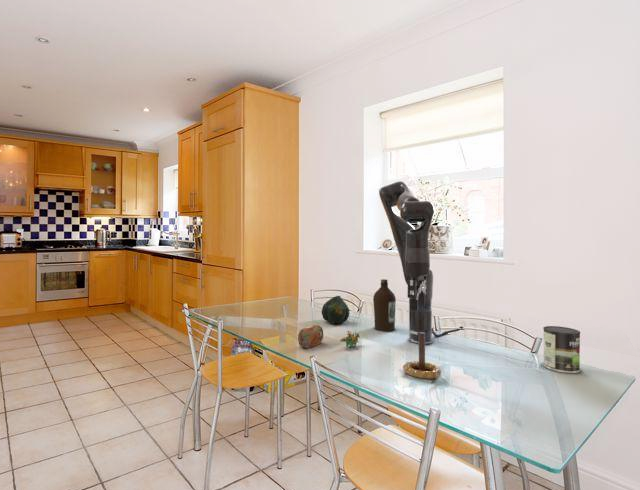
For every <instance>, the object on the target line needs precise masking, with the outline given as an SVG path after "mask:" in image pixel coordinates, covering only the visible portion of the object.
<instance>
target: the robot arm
mask: <svg viewBox="0 0 640 490" xmlns="http://www.w3.org/2000/svg"><path fill="white" fill-rule="evenodd" d="M378 195H379V199H380V202H381V204H382V208H383V210H384V212H385V214H386V217H387V220H388V223H389V227H390V230H391V233H392V238H393V241H394V244H395V246H396V249H397V252H398V253H397V254H398V256H399V259H400V263H401V267H402V272H403V273H402V274H403V279H404V281H405V284H406V285H407V298H408V317H409V318H408V320H409V321H408V323H409V324H408V325H409V327H408V331H409V333H408V340H409V342H411V343H414V344H418V345H419V332H424V333H425V345H429V344H430V345H431V344H432V343H433V336H434V337H436V338H440V337H443V336H444V335H446V334H451V333H455V332H459V331H460V330H461V329H462V328H464V326H459V327H458V328H461V329H458V328H456V329H451V330H446V331H443V332H442V333H440V334H437V333H436V332H435V331H434V327H433V307H432V306H433V305H432V304H433V303H432V302H433V295H434V294H433V291H434V273H433V271H432V269H431V263H430V262H431V261H430V259H431V258H430V256H431V255H430V253H431V252H430V248H429V246H430V243H429V242H430V241H429V239H430V237H429V236H430V235H429V234H430V231H431V230H430V229H431V225H432V222H433V219H434V215H435V206H434V204H433V203H432V202H431V201H428V200H419V198H417V197H415V196H414V195H413V193H412V192H411V189H410V188H409V187H408V185H407V184H406V183H405V182H404V181H401V180H400V181H394V182H392V183H389V184H388V185H384V186H382V187H380V188H379V189H378ZM394 207H396V208H397V209H398V210H399V215H398V214H397V212H396V211H395V210H394ZM411 223H420V225H419V226H418V227H417V228H415V227H414V226H413V225H412V224H411Z"/></svg>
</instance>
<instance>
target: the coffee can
mask: <svg viewBox="0 0 640 490" xmlns="http://www.w3.org/2000/svg"><path fill="white" fill-rule="evenodd" d="M542 330H543V367H544V368H546V369H548V370H551V371H554V372H559V373H565V374H578V373H580V372H581V370H580V367H581V366H580V361H581V360H580V357H581V351H580V350H581V345H580V344H581V331H580V330H578V329H576V328H571V327H566V326H558V325H557V326H556V325H546V326H543V329H542Z"/></svg>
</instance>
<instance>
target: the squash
mask: <svg viewBox="0 0 640 490" xmlns="http://www.w3.org/2000/svg"><path fill="white" fill-rule="evenodd" d="M321 316H322V318H323V320H324V321H327V322H329V323H330V324H332V325H334V324H335V325H336V324H338V325H340V324H341V323H345V322H347V320H348V319H349V318H350V307H349V306H348V305H347V303H346V302H345V300H344V299H343V298H342V297H341V295H336V296H333V297H331V298H330V299H328V300H327V301H326V302H325V303H324V304H323V305H322V308H321Z"/></svg>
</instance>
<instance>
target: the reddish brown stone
mask: <svg viewBox="0 0 640 490" xmlns="http://www.w3.org/2000/svg"><path fill="white" fill-rule="evenodd" d="M323 339H324V330H323V328H322V327H321V325H315V324H313V325H310V326H307V327H303V328H301V329H300V330H299V332H298V334H297V341H298V342H297V343H298V345H299V346H300V347H301V348H304V349H310V348H312V347H316V346H318V345H321V343H322V342H323Z"/></svg>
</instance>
